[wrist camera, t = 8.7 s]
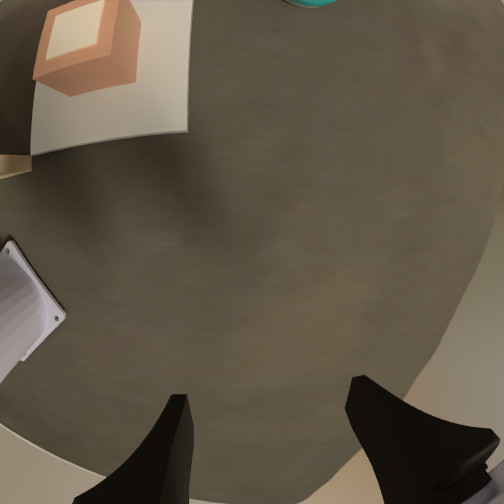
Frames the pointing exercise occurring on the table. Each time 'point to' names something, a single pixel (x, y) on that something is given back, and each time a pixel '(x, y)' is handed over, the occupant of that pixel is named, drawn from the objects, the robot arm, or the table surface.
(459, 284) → the table surface
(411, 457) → the robot arm
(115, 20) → the letter block
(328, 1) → the beverage can
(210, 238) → the table surface
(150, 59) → the tile
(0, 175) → the wooden board
